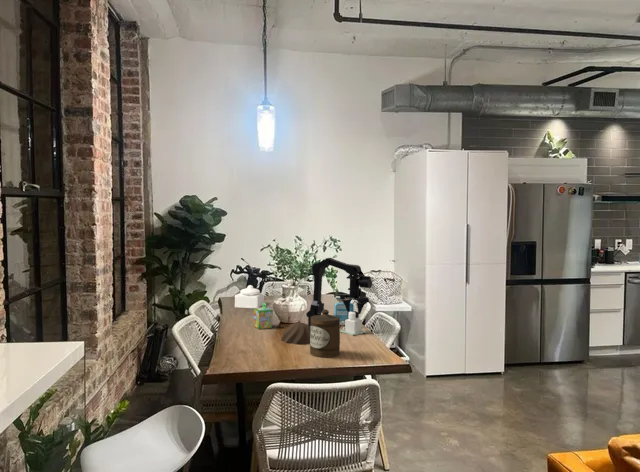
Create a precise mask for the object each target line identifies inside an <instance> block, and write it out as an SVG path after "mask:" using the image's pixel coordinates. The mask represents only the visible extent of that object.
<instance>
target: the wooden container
mask: <svg viewBox="0 0 640 472" xmlns="http://www.w3.org/2000/svg"><path fill="white" fill-rule="evenodd" d="M340 328H341V326H340V318H339V317H338V316H334V315H331V314H329V310H328V309H325V308H324V310H323V311H322V313H321V315H315V316H312V317H311V333H310V343H309V353H310V355H312V356H313V357H318V358H334V357H337V356H339V355H340V351H341V350H340V349H341V348H340V347H341V332H340V330H341V329H340Z"/></svg>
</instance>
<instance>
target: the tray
mask: <svg viewBox="0 0 640 472" xmlns="http://www.w3.org/2000/svg"><path fill="white" fill-rule="evenodd" d="M344 333H345V335H348V334H349V335H348V336H352V335H355V336H359V335H358V334H360V335H364V334H363V333H365V334H367V331H366V330H363V329H361V332H358V333H350V332H346V331H345V330H343V329H340V334H344Z"/></svg>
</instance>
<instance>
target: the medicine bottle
mask: <svg viewBox="0 0 640 472" xmlns="http://www.w3.org/2000/svg"><path fill="white" fill-rule="evenodd" d="M359 315H360V314H359V313H358V311H356V310H355V311H350V312H349V316H348V318H349V319H347V320H345V325H344V327H345V331H346V332H350V333H358V332H361V330H362V321H363V320H362V319H360V317H359Z"/></svg>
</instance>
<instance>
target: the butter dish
mask: <svg viewBox="0 0 640 472" xmlns="http://www.w3.org/2000/svg"><path fill="white" fill-rule="evenodd" d="M263 303H265V293H262V292H261V291H260V289H258V288H255V287H254V286H253V285H251V284H249V285H247V287H246V288H242V289H240V291H239V293H237V294H235V295H234V308H240V309H241V308H242V309H244V308H245V309H254V308H262V306H263Z"/></svg>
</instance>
